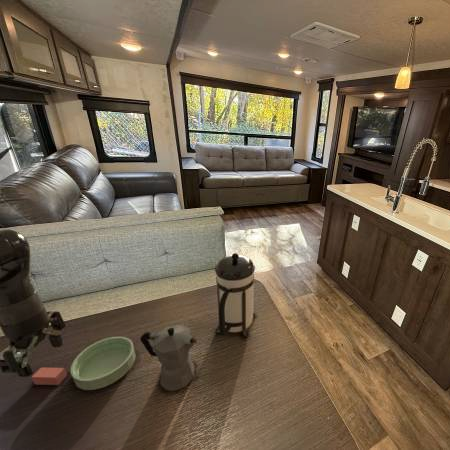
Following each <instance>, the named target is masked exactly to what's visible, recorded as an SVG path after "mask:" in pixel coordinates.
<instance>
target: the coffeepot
mask: <svg viewBox="0 0 450 450" xmlns="http://www.w3.org/2000/svg"><path fill="white" fill-rule="evenodd" d="M150 341H152V345H151V342H150ZM140 342H141V343H142V345H143V346H144V348H145V350H146V351H147V352H148V354H149V356H151V357H157V360H158V362H159V363H160V364H161V369H160V380H159V381H160V382H159V383H160V384H159V385H160V386H161V387H162V388H163V389H165V390H166V391H168V392H173V391H177V390H181V389H184V388H185V387H186V386H187V385H188V384H189V383H190V382H191V381H192V380H193V379H194V378H195V364H194V363H193V359H192V357H191V355H190V350H191V348H192V347H193V346H194V345H195V344H197V343H198V339H197V338H196V337H194V336H193V335H191V329H190V328H188V327H186V326H185V325H183V324H176V325H170V326H166V327H165V328H164V329H162V330H161V331H159V332H157V331H152V332H149V331H146V332H144V333H143V334H142V335H141V336H140Z"/></svg>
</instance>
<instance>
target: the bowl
mask: <svg viewBox="0 0 450 450" xmlns="http://www.w3.org/2000/svg"><path fill="white" fill-rule="evenodd" d="M136 355H137V354H136V350H135V346H134V343H133V341H132V340H131V339H130V338H128V337H125V336H111V337H106V338H103V339H101V340H98V341H96V342H94V343H92V344H90V345H89V346H87V347H86V348H84V349H82V351H81V352H80V353H79V354H78V355H77V356H76V357H75V358H74V359H73V361H72V363H71V365H70V375H71V379H72V380H73V383H74V384H75V386H76V387H77V388H78V389H81V390H83V391H95V390H100V389H103V388H105V387H108V386H110V385H112V384H114V383H116V382H117V381H118V380H120V379H121V378H123V377H124V376H125V375H126V374H127V373H128V372H129V371H130V370H131V368H132V367H133V365H134V363H135V360H136V357H137V356H136Z"/></svg>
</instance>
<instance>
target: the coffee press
mask: <svg viewBox="0 0 450 450" xmlns="http://www.w3.org/2000/svg"><path fill="white" fill-rule="evenodd" d="M255 270H256V265H255V263H254V262H253V261H252V259H251V258H249V257H248V256H246V255H244V254H238V253H237V252H234V253H232V254H231V255H227V256H224V257H222V258H221V259H219V261H218V262H217V264H216V265H215V267H214V272H215V275H216V277H215V281H216V282H215V283H216V295H217V313H218V325H217V327H216V329H215V331H216V333H217V334H220V336H222V337H226V336H227V335H228V334H229V333H241V337H242V338H246V337H248V332H247V329H248V328H249V327H250V326H251V324H252V323H253V319H254V318H255V317H256V314H255V313H254V283H255V274H254V273H255Z"/></svg>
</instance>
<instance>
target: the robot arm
mask: <svg viewBox="0 0 450 450" xmlns="http://www.w3.org/2000/svg"><path fill="white" fill-rule="evenodd" d="M50 325H51V327H52V328H49V326H50ZM65 328H66V323H65V320H64V319H63V317H62V314H61V312H60V311H56V310H55V311H51V310H49V311H47V310H46V308H45V305H44V302H43V300H42V297H41V295H40V293H38V291H37V289H36V287H35V285H34V282H33V280H32V278H31V246H30V243H29V241H28V240H27V238H26V237H25V235H23V234H22V233H20V232H19V231H16V230H14V229H8V228H7V229H0V329H1V331H2V334H3V335H4V336H5V337H6V338H7V339H8V340H9V345H8V346H7V347H6V348H5V349H3V350H0V371H1V373H2V374H8V373H9V374H10V373H11V374H15V373H16V374H17V376H18V377H20V378H28V377H32V376H33V375H34V372H33V370H32V368H31V364H30V363H29V359H30V357H31V356H33V353H34V350H35V348H36V347H37V346H38V345H39V344H40V343H41V342H43V341H44V340H45V339H46V336H48V337H47V338H48V340H49V343H50V345H51V346H52V347H53V348H61V347H62V346H63V338H62V335H61V332H62V330H63V329H65ZM21 350H25V351H21ZM20 359H21V360H20Z"/></svg>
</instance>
